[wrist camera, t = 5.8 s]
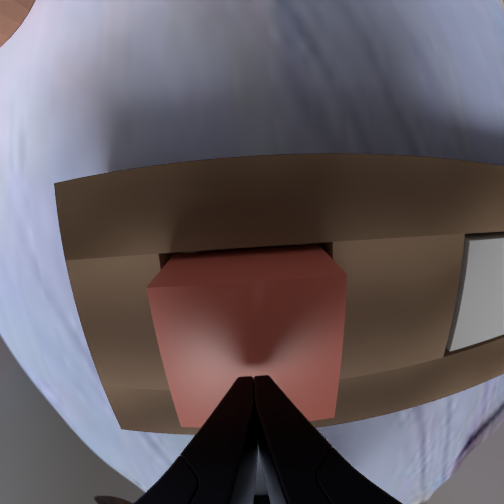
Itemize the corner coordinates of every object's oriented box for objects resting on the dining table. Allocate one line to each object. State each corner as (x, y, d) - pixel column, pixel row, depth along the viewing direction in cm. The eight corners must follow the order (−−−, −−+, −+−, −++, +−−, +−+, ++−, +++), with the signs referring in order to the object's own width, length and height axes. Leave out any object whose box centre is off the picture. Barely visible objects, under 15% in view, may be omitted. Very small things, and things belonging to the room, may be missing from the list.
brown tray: (496, 328, 18) (534, 358, 13) (144, 374, 17) (121, 429, 13) (516, 171, 14) (567, 178, 10) (107, 177, 14) (54, 183, 9)
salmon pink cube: (315, 363, 13) (334, 417, 9) (193, 371, 13) (181, 426, 9) (318, 244, 11) (347, 274, 8) (173, 253, 11) (146, 288, 8)
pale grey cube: (482, 306, 15) (515, 329, 12) (417, 320, 15) (449, 351, 12) (494, 223, 14) (534, 235, 10) (428, 225, 14) (469, 240, 10)
